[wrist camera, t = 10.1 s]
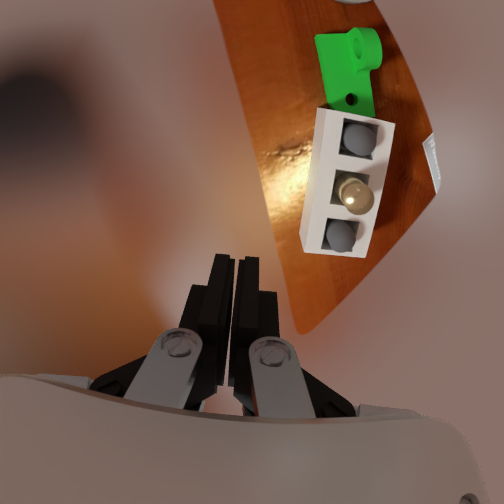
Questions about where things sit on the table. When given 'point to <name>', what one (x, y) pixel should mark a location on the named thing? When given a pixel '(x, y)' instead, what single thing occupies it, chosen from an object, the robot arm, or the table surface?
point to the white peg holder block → (333, 164)
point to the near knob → (358, 138)
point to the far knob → (339, 235)
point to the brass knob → (354, 193)
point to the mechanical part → (349, 68)
